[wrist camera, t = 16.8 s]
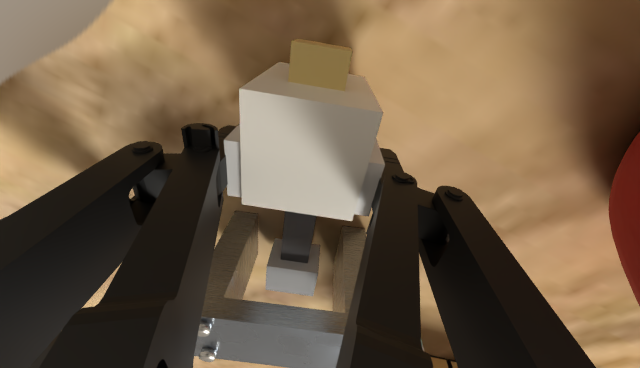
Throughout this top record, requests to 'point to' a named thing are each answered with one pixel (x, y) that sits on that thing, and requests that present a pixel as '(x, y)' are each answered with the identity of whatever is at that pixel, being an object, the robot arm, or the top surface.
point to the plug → (305, 151)
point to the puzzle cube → (443, 363)
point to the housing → (272, 306)
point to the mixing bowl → (627, 214)
